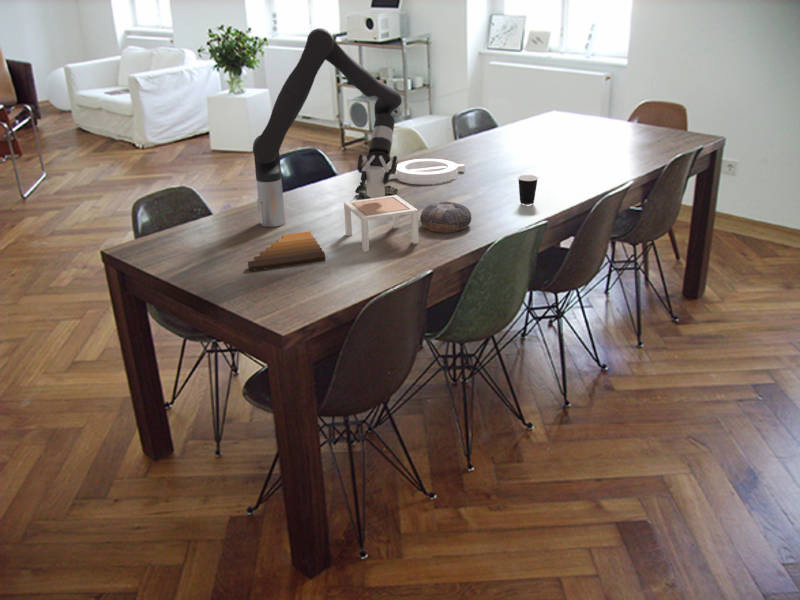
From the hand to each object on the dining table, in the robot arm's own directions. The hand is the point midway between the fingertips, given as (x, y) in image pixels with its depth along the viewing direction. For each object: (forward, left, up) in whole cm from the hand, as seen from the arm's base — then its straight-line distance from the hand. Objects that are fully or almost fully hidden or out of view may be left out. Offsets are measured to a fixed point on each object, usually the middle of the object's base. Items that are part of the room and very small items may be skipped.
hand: (374, 183), depth 269 cm
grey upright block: (+1, +1, -5) cm, 5 cm away
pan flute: (-35, -2, -20) cm, 41 cm away
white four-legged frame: (+1, -3, -20) cm, 20 cm away
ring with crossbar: (+49, +67, -20) cm, 85 cm away
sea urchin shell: (+27, -1, -20) cm, 33 cm away
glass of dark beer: (+67, +9, -20) cm, 70 cm away
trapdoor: (+1, -3, -9) cm, 9 cm away
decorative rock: (+19, +49, -20) cm, 57 cm away
